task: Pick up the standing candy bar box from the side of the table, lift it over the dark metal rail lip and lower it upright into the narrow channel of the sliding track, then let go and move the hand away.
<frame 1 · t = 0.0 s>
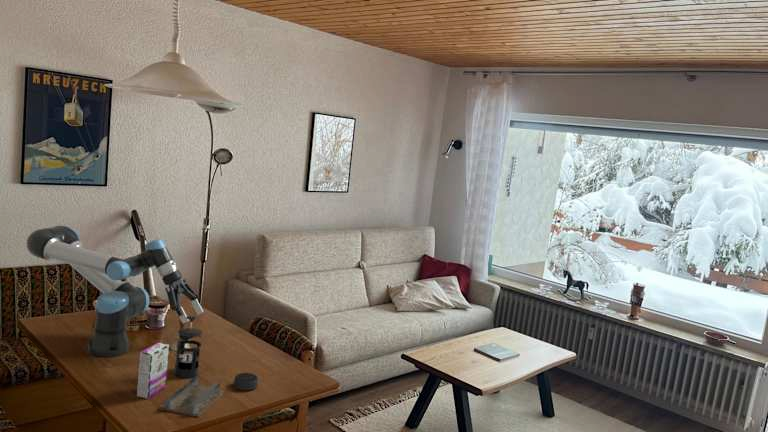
hand: (193, 317, 246), 15 cm above the table, tool tilted 35°, fingers open, 13 cm apart
french press: (185, 373, 227), on the table
candy bar box: (150, 392, 208), on the table
hand bell: (180, 348, 252), on the table
sliding track: (193, 400, 206), on the table
smart speaker: (245, 387, 223), on the table
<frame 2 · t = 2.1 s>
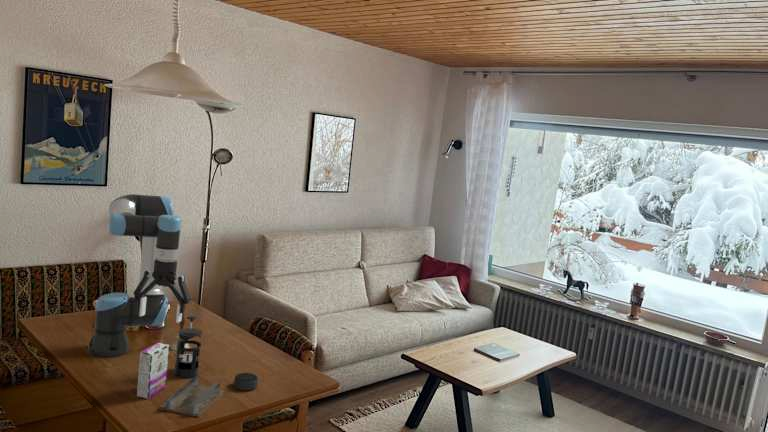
hand: (160, 318, 206), 27 cm above the table, tool pointing down, fingers open, 13 cm apart
nothing on the table moved.
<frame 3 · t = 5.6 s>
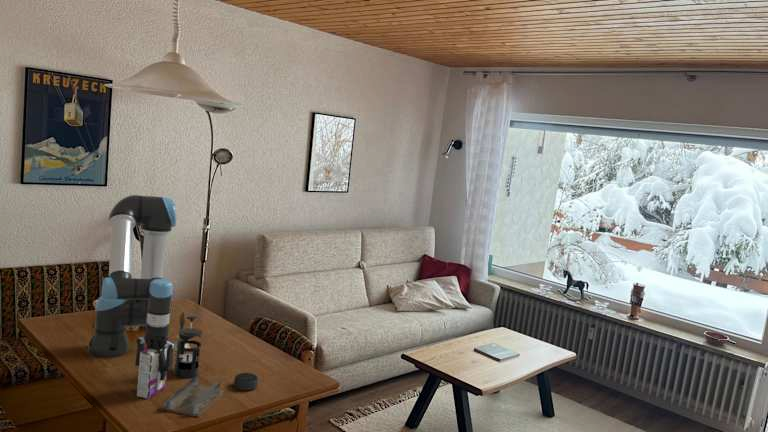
hand: (151, 386, 208), 2 cm above the table, tool pointing down, fingers closed on candy bar box, 5 cm apart
candy bar box: (150, 392, 208), on the table, touching gripper
everything else where it was.
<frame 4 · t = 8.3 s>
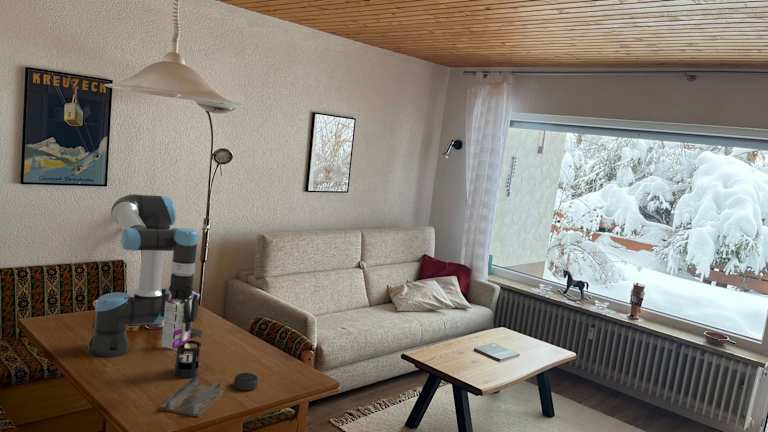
hand: (176, 338, 204), 21 cm above the table, tool pointing down, fingers closed on candy bar box, 5 cm apart
candy bar box: (175, 344, 204), point 19 cm above the table, touching gripper
everything else where it was.
when the fingers open (5 cm above the table, at t = 11.3 s): candy bar box drops 2 cm, resting on sliding track.
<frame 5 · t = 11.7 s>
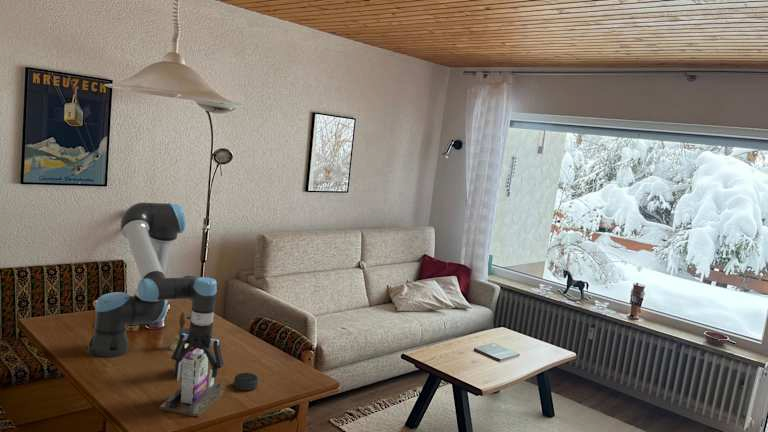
hand: (195, 382, 205), 7 cm above the table, tool pointing down, fingers open, 11 cm apart
candy bar box: (193, 398, 206), point 1 cm above the table, touching sliding track
everything else where it was.
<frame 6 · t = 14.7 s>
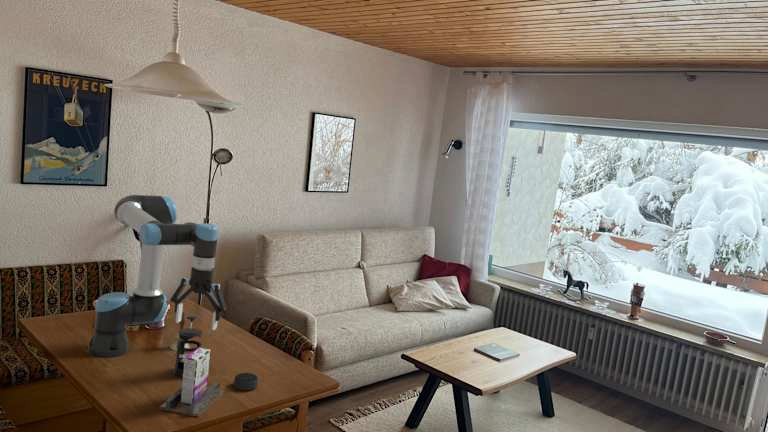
hand: (196, 325, 208), 25 cm above the table, tool pointing down, fingers open, 13 cm apart
nothing on the table moved.
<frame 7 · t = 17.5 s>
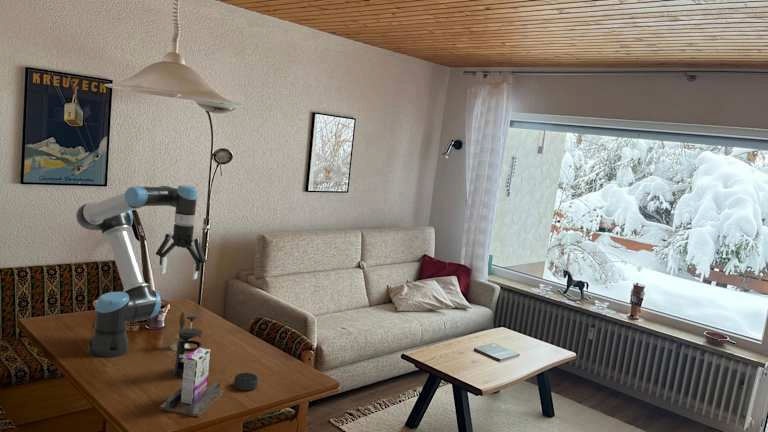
hand: (178, 276, 235), 35 cm above the table, tool pointing down, fingers open, 13 cm apart
nothing on the table moved.
at the end: candy bar box inside the target area on the sliding track (0.1 cm from its centre), point 0.8 cm above the sliding track's base; candy bar box tilted 0°; the gripper is holding nothing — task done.
